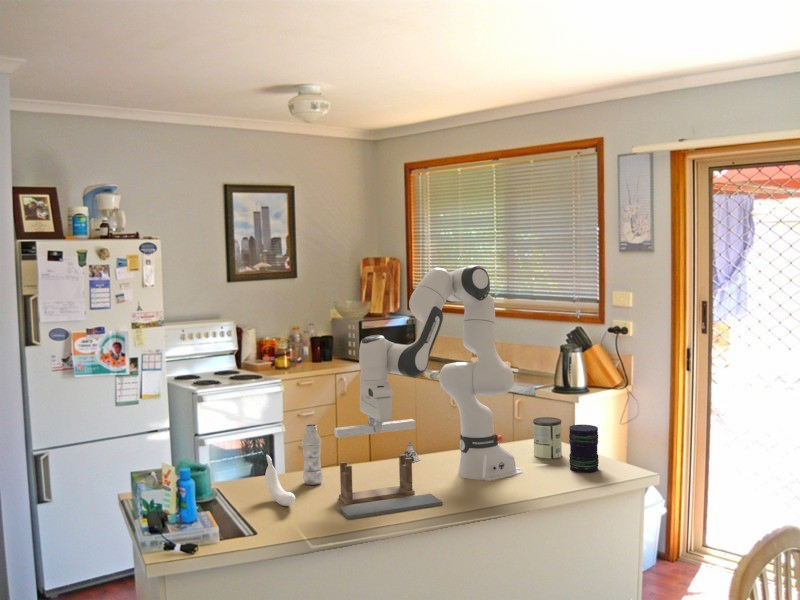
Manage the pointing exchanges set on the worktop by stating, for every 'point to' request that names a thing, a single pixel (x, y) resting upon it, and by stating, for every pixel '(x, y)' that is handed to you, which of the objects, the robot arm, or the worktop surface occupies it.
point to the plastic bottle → (312, 456)
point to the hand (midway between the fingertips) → (375, 430)
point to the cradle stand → (376, 494)
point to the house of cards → (411, 453)
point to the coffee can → (547, 438)
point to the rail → (370, 428)
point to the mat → (390, 506)
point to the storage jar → (583, 448)
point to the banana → (277, 486)
